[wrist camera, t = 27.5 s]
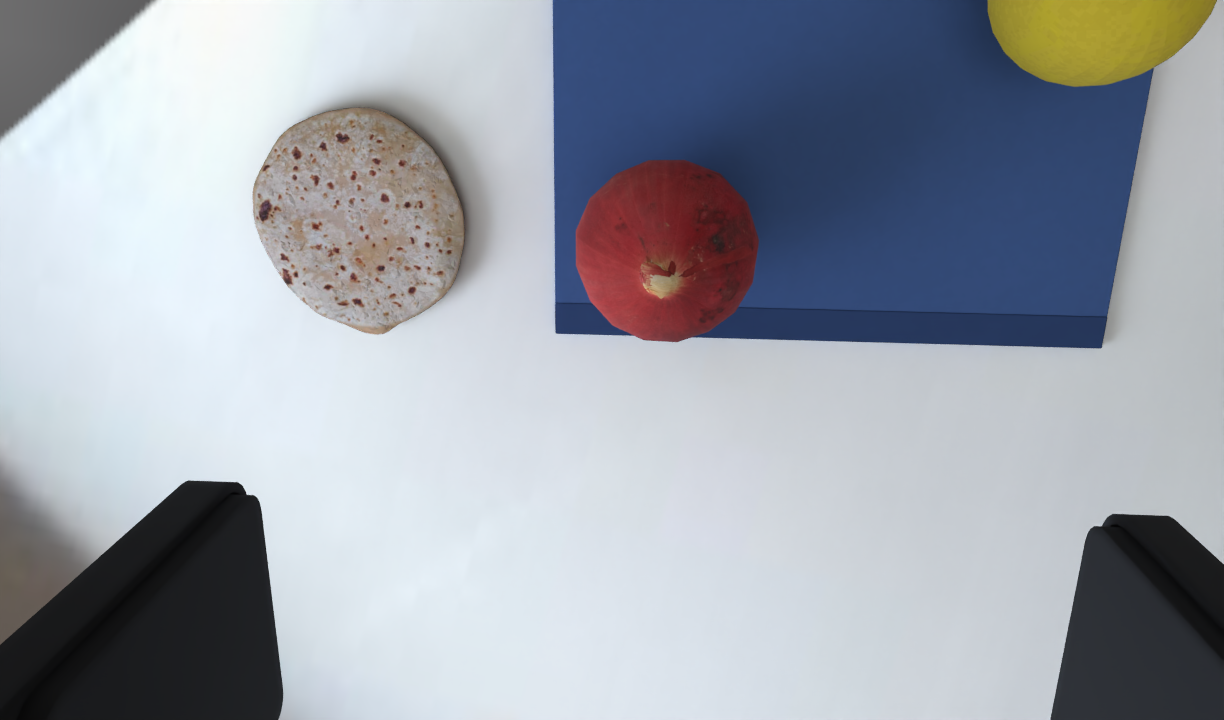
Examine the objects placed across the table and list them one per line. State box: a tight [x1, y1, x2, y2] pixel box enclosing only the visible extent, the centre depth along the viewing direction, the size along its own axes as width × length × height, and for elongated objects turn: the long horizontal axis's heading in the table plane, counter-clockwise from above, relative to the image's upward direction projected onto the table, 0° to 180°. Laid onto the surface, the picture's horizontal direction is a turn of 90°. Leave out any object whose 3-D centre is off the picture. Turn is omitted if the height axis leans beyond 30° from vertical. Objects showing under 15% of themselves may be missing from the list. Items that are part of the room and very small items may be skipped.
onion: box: [576, 160, 759, 342], centre depth 29 cm, size 6×6×8 cm
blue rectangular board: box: [553, 0, 1154, 348], centre depth 32 cm, size 20×16×1 cm
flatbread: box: [253, 108, 465, 334], centre depth 33 cm, size 8×8×1 cm
